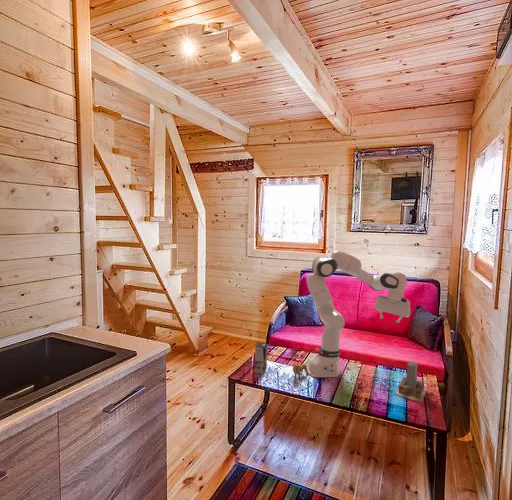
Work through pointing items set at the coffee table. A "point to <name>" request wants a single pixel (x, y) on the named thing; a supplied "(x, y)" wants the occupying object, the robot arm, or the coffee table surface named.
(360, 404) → the coffee table surface
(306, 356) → the coffee table surface
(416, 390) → the post block
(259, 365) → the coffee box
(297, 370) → the lion figurine
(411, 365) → the rail end
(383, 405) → the coffee table surface
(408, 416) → the coffee table surface
